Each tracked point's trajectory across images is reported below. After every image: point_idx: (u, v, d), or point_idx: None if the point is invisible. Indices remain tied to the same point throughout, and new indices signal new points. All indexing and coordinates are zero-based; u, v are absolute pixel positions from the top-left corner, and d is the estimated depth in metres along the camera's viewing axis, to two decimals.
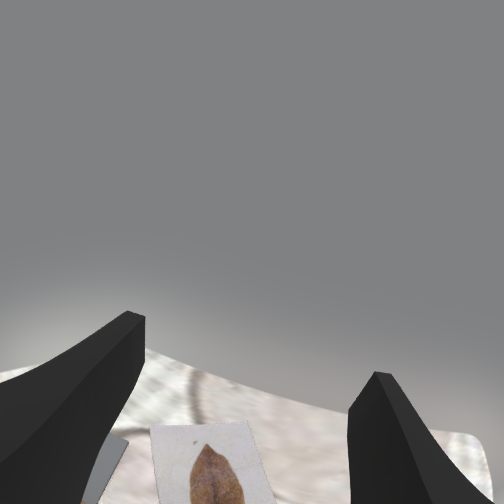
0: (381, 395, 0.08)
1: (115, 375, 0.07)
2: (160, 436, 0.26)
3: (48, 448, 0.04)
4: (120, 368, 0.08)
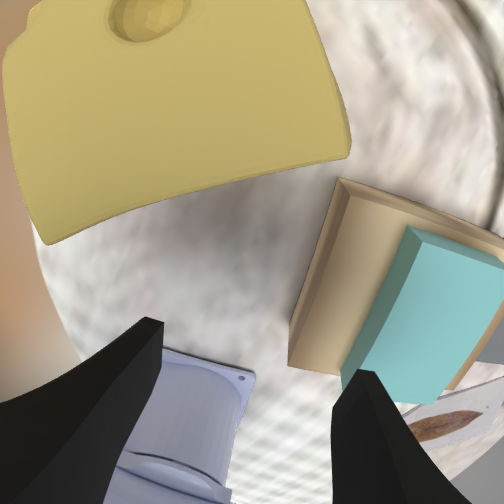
0: (363, 393, 0.08)
1: (136, 383, 0.07)
2: (502, 384, 0.22)
3: (74, 462, 0.04)
4: (140, 375, 0.08)
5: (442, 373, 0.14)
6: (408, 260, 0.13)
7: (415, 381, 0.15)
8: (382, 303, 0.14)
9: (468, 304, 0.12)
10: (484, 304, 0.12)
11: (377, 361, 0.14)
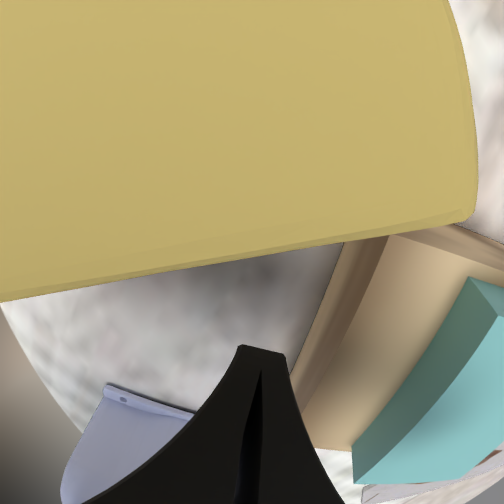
0: (259, 373, 0.08)
1: None
2: None
3: None
4: None
5: (479, 452, 0.09)
6: (469, 337, 0.07)
7: (445, 464, 0.09)
8: (420, 385, 0.09)
9: None
10: None
11: (403, 454, 0.09)
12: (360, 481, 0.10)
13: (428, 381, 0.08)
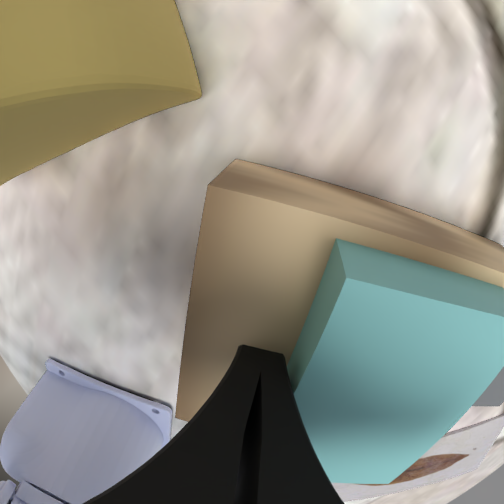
0: (258, 373, 0.08)
1: None
2: (494, 425, 0.16)
3: None
4: None
5: (400, 456, 0.09)
6: (326, 307, 0.07)
7: (357, 464, 0.09)
8: (294, 365, 0.09)
9: (444, 375, 0.07)
10: (473, 372, 0.07)
11: None
12: None
13: (298, 360, 0.08)
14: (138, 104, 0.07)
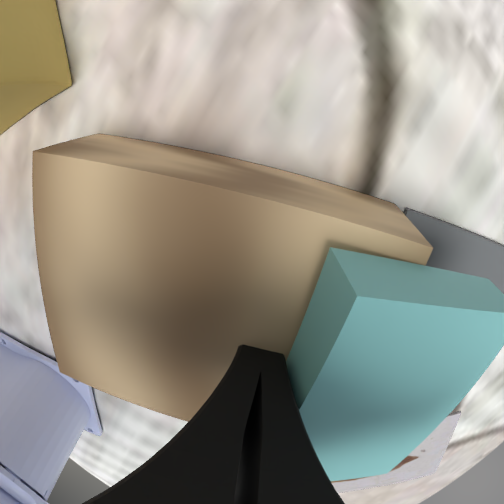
0: (259, 373, 0.08)
1: None
2: (441, 425, 0.17)
3: None
4: None
5: (399, 448, 0.09)
6: (330, 323, 0.07)
7: (358, 462, 0.10)
8: (291, 380, 0.08)
9: (443, 372, 0.07)
10: (469, 365, 0.07)
11: None
12: None
13: (297, 375, 0.08)
14: None
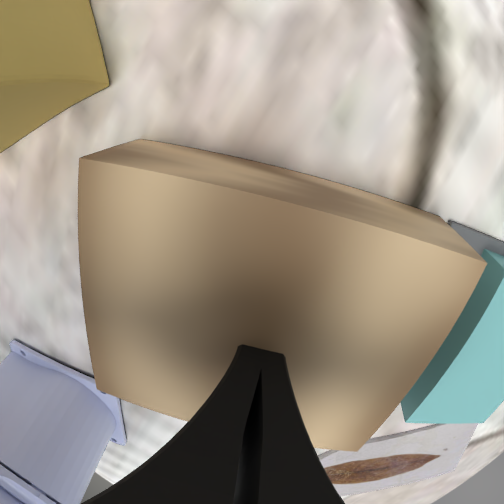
0: (259, 373, 0.08)
1: None
2: (464, 425, 0.16)
3: None
4: None
5: None
6: None
7: None
8: None
9: None
10: None
11: None
12: None
13: None
14: (32, 97, 0.07)
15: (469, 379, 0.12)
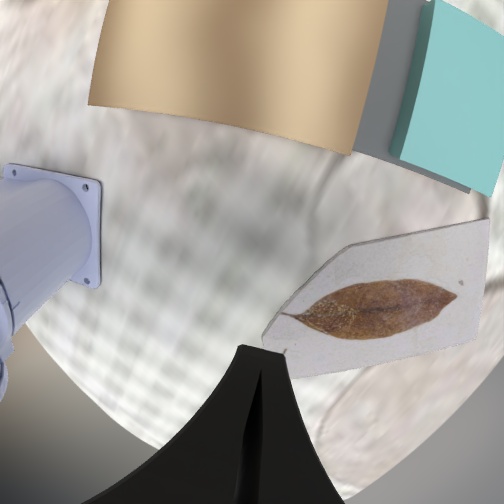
0: (259, 373, 0.08)
1: None
2: (474, 236, 0.17)
3: None
4: None
5: None
6: None
7: None
8: None
9: None
10: None
11: None
12: None
13: None
14: None
15: (450, 106, 0.12)
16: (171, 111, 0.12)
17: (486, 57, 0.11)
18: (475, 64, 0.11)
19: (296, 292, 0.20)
